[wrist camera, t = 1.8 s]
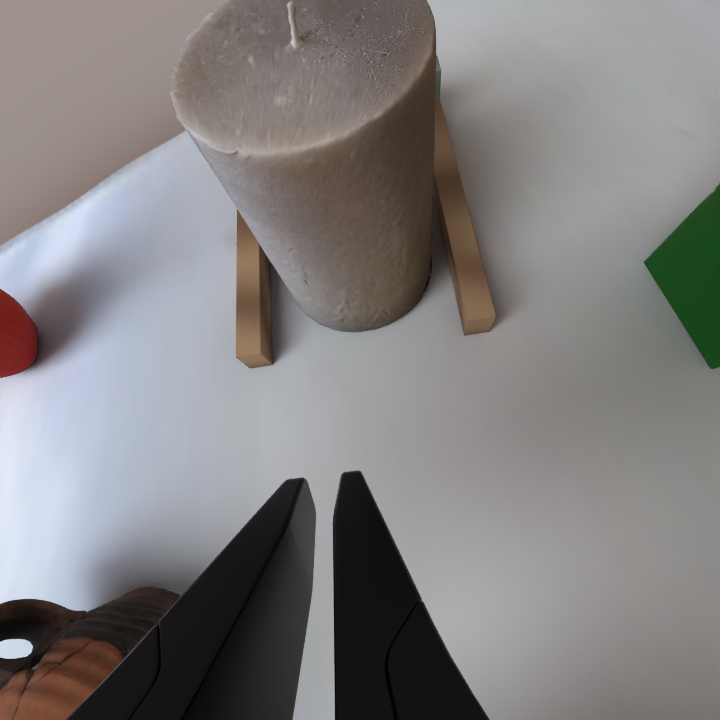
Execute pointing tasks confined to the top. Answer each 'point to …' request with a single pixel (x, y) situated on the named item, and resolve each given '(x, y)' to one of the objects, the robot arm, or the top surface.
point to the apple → (16, 337)
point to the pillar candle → (323, 143)
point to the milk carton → (694, 275)
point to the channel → (457, 242)
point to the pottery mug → (70, 650)
